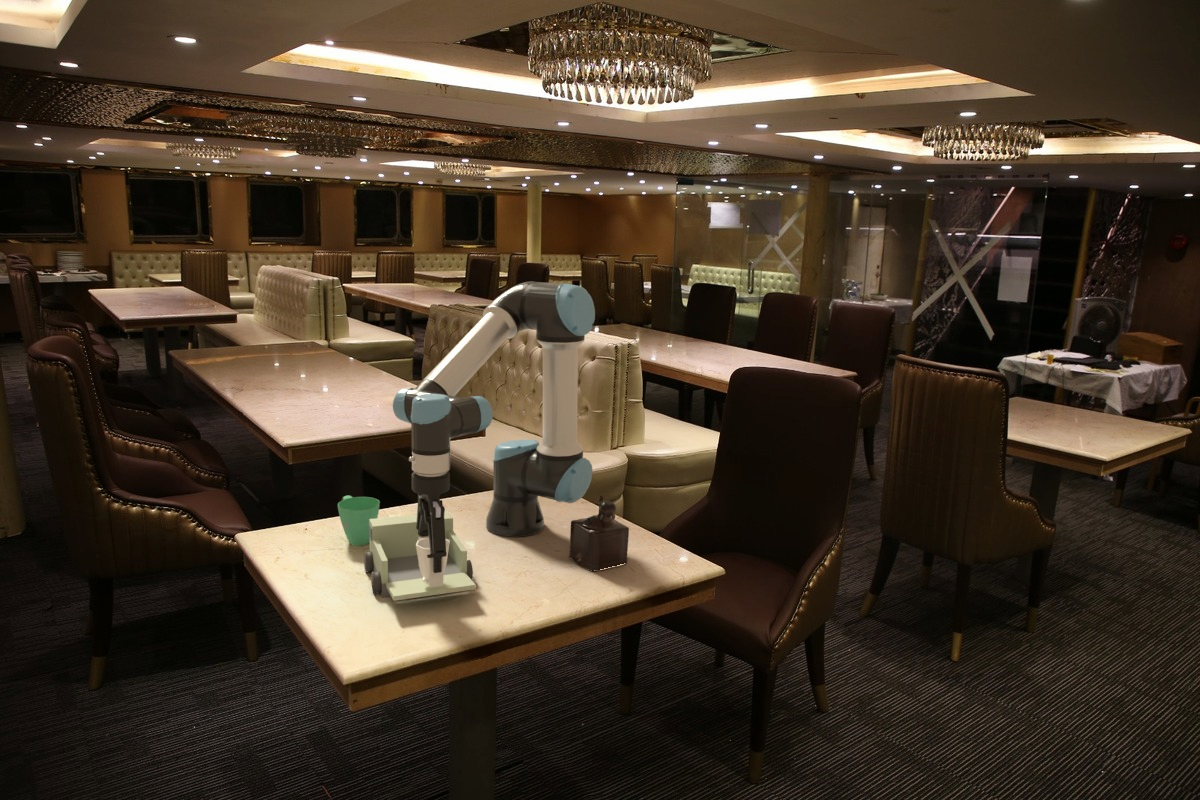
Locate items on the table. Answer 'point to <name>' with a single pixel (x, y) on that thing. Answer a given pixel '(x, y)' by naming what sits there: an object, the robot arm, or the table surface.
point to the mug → (357, 517)
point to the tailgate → (421, 588)
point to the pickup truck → (406, 551)
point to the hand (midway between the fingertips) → (430, 575)
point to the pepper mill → (599, 539)
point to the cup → (422, 553)
